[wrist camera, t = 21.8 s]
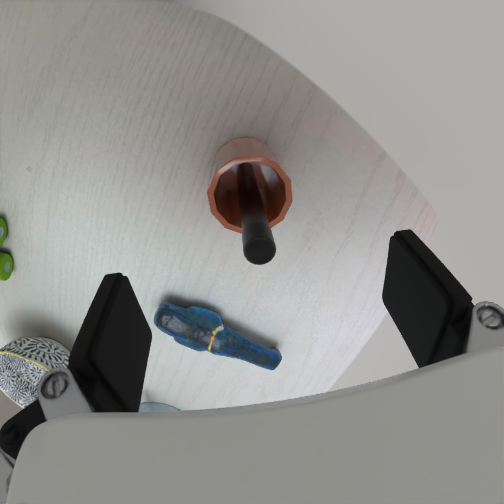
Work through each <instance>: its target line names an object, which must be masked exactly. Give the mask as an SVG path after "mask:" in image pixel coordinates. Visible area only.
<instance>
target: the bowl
mask: <svg viewBox="0 0 504 504" xmlns="http://www.w3.org/2000/svg"><path fill="white" fill-rule="evenodd" d="M69 356H70V352H69V350H68V349H66V348H65V347H64V346H63V345H62V344H60V343H58V342H57V341H55V340H52V339H49V338H45V337H40V338H34V337H24V338H19V339H16V340H14V341H12V342H10V343H9V344H7V345H5V346H4V347H3V348H2V349H0V389H1V390H2V391H3V392H4V393H5V394H6V395H7V396H8V397H9V398H10V399H11V400H13V401H14V402H15V403H16V404H18V405H19V406H20V407H22V408H23V409H24V408H26V407H27V406H28V405H30V404H31V403H32V402H34V401H35V400H36V399H38V395H37V385H38V383H39V381H40V379H41V377H42V376H43V375H44V374H45V373H46V372H47V371H49V370H51V369H53V368H56V367H65V368H67V366H68V363H69V362H68V358H69Z"/></svg>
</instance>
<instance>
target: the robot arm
mask: <svg viewBox="0 0 504 504" xmlns="http://www.w3.org/2000/svg"><path fill="white" fill-rule="evenodd" d="M382 299H383V303H384V305H385V306H386V308H387V310H388V312H389V313H390V315H391V317H392V319H393V321H394V322H395V324H396V326H397V328H398V330H399V331H400V333H401V335H402V337H403V339H404V340H405V342H406V344H407V346H408V348H409V350H410V352H411V354H412V356H413V357H414V359H415V361H416V363H417V365H418V367H419V368H418V369H415V370H412V371H409V372H406V373H402V374H398V375H395V376H392V377H388V378H384V379H381V380H377V381H374V382H369V383H365V384H361V385H357V386H353V387H349V388H344V389H340V390H335V391H331V392H326V393H321V394H316V395H311V396H305V397H300V398H294V399H288V400H282V401H275V402H269V403H261V404H254V405H246V406H237V407H227V408H217V409H204V410H190V411H168V412H139V407H140V401H141V395H142V389H143V383H144V378H145V372H146V367H147V361H148V356H149V351H150V346H151V341H152V333H151V329H150V327H149V325H148V323H147V321H146V318H145V316H144V314H143V312H142V309H141V307H140V305H139V303H138V300H137V298H136V296H135V293H134V291H133V289H132V286H131V284H130V281H129V279H128V277H127V276H123V275H122V273H113V274H107V275H105V276H104V278H103V280H102V282H101V284H100V286H99V288H98V291H97V293H96V295H95V297H94V299H93V301H92V304H91V306H90V308H89V310H88V313H87V315H86V317H85V319H84V322H83V324H82V326H81V329H80V331H79V333H78V336H77V338H76V341H75V343H74V346H73V348H72V351H71V353H70V356H69V358H68V362H69V363H68V366H67V368H65V367H56V368H53V369H51V370H49V371H47V372H46V373H45V374H44V375H43V376H42V377H41V379H40V381H39V383H38V385H37V395H38V399H36V400H35V401H34V402H32V403H31V404H30V405H28V406H27V407H26V408H24V409H23V410H21V411H20V412H19V413H17V414H16V415H15V416H13V417H12V418H11V419H9V420H8V421H7V422H6V423H5V424H4V425H3V426H2V428H1V430H0V504H504V309H503V308H502V307H500V306H499V305H498V304H495V303H493V302H487V301H484V302H480V303H477V304H476V305H475V306H474V305H473V303H472V302H471V301H472V297H471V296H470V295H469V294H468V293H467V291H466V290H465V289H464V287H463V286H462V285H461V284H460V283H459V282H458V280H456V278H455V277H454V276H453V275H452V274H451V272H450V271H449V270H448V269H447V268H446V267H445V266H444V264H443V263H442V262H441V261H440V260H439V259H438V258H437V257H436V256H435V255H434V253H433V252H432V251H431V250H430V249H429V248H428V247H427V246H426V245H425V244H424V243H423V242H422V241H421V240H420V238H419V237H418V236H417V235H416V234H415V233H414V232H413V231H412V230H410V229H408V230H401V231H396V232H395V233H394V236H391V238H390V243H389V251H388V259H387V266H386V273H385V280H384V287H383V293H382Z"/></svg>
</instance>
